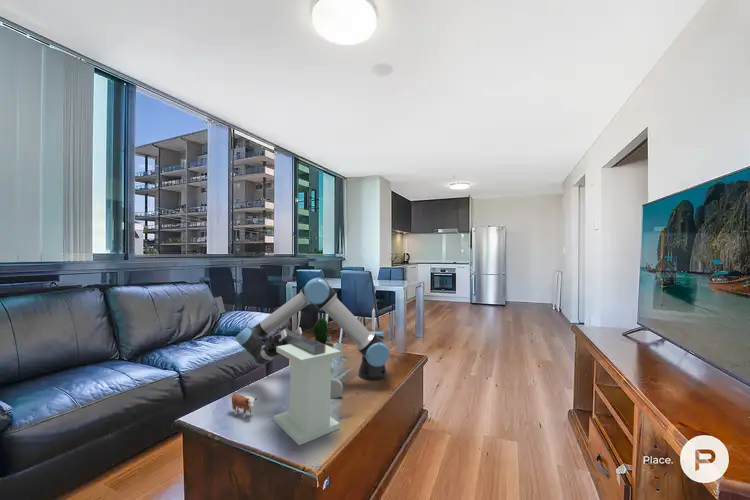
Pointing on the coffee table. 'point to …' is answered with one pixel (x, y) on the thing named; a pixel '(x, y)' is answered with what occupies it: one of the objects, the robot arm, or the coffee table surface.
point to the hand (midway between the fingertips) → (293, 331)
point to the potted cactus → (322, 332)
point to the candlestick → (373, 319)
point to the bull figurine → (242, 403)
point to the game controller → (336, 388)
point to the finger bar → (304, 342)
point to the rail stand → (308, 394)
